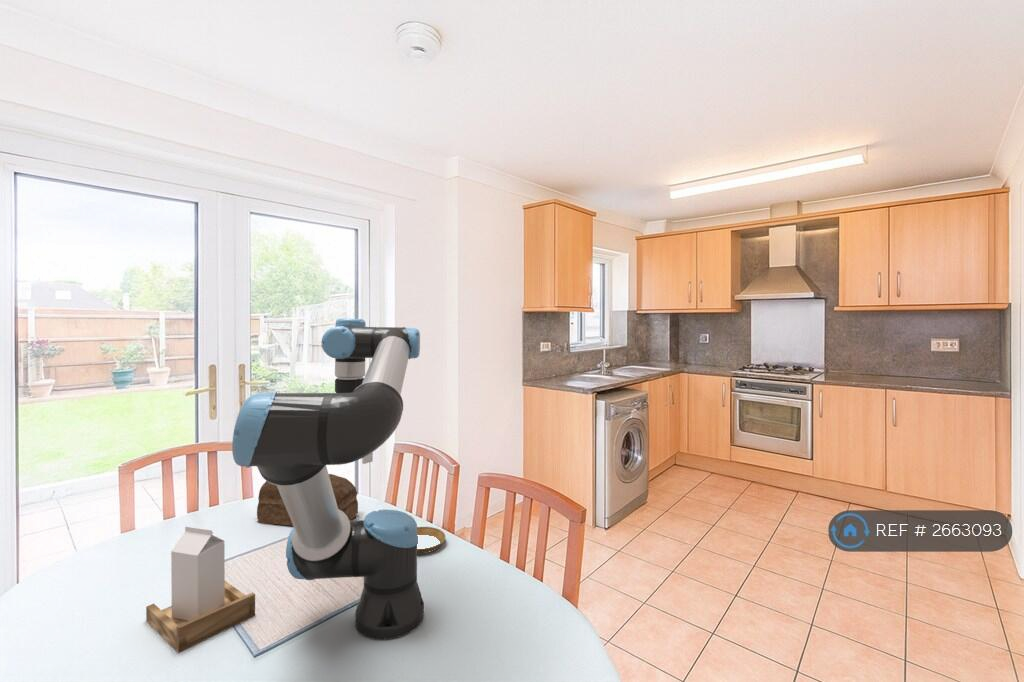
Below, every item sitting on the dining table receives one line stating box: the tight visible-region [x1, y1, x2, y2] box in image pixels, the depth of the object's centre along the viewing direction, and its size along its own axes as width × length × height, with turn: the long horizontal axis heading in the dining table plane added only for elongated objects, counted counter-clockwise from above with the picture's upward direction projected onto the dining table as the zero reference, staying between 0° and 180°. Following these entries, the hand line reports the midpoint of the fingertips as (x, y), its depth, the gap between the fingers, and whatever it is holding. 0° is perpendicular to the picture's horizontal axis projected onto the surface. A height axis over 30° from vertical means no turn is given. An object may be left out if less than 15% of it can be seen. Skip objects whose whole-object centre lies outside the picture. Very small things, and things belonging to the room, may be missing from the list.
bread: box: [256, 473, 359, 527], centre depth 158 cm, size 15×32×16 cm, turn 80°
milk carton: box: [170, 525, 226, 621], centre depth 105 cm, size 7×7×19 cm
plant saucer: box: [417, 526, 446, 554], centre depth 142 cm, size 15×15×3 cm
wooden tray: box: [145, 580, 256, 654], centre depth 105 cm, size 17×15×5 cm
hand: (349, 458), depth 124 cm, fingers open, 13 cm apart
